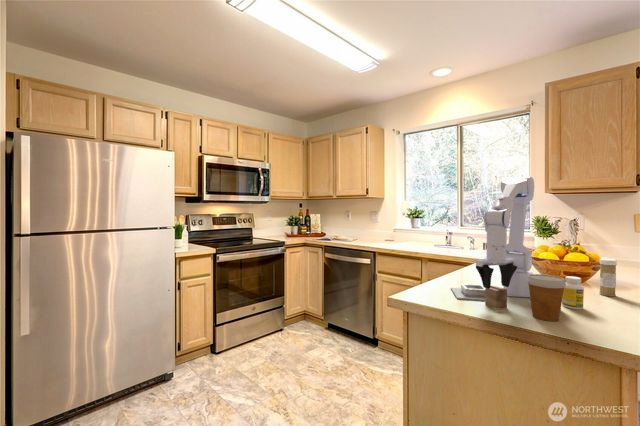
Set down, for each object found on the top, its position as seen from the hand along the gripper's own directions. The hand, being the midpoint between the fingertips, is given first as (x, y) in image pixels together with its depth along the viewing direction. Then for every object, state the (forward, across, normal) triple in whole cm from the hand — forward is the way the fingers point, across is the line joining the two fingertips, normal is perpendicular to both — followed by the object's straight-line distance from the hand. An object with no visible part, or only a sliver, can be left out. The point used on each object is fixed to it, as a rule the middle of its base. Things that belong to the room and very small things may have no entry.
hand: (496, 287), depth 101 cm
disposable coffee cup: (+7, +6, -12) cm, 15 cm away
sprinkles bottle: (+6, +50, -1) cm, 51 cm away
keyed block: (+6, 0, 0) cm, 7 cm away
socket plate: (+6, +3, +12) cm, 14 cm away
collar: (+6, +3, +12) cm, 14 cm away
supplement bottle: (+6, +23, -8) cm, 25 cm away
